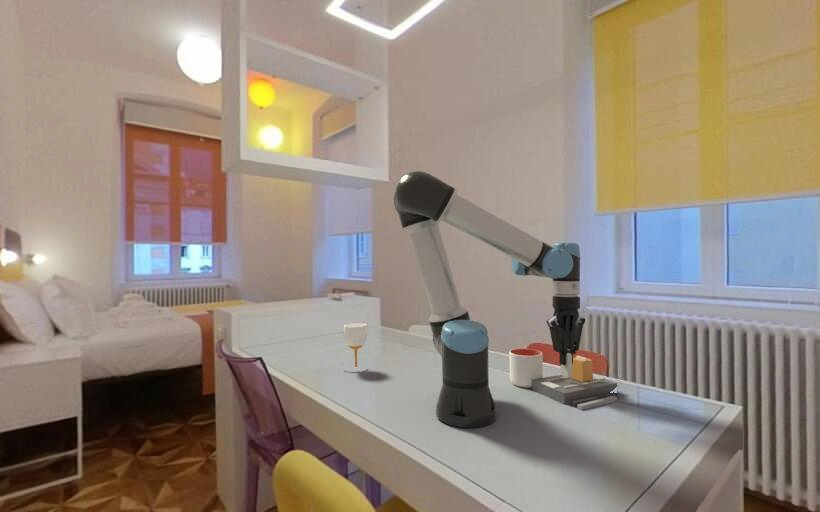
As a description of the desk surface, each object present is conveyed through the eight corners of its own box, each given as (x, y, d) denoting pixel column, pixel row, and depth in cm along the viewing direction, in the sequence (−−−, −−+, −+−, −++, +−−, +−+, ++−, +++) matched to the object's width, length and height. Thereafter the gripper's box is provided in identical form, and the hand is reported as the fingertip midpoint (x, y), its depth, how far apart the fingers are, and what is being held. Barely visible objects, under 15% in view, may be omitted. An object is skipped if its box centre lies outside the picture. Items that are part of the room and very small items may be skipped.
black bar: (574, 407, 105) (574, 402, 105) (570, 405, 107) (570, 401, 107) (618, 398, 112) (618, 393, 112) (613, 396, 113) (613, 392, 113)
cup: (544, 389, 119) (544, 356, 119) (510, 388, 121) (510, 355, 121) (540, 379, 129) (540, 348, 129) (509, 378, 131) (508, 347, 131)
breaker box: (564, 404, 108) (563, 392, 108) (532, 389, 120) (531, 378, 120) (617, 393, 115) (617, 382, 115) (582, 380, 127) (582, 370, 127)
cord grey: (581, 410, 104) (580, 406, 104) (577, 408, 105) (577, 404, 105) (617, 400, 110) (617, 397, 110) (613, 399, 111) (613, 395, 111)
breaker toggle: (582, 382, 116) (582, 359, 116) (571, 378, 120) (570, 356, 120) (592, 380, 117) (592, 358, 117) (581, 376, 121) (580, 354, 121)
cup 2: (371, 370, 142) (370, 326, 142) (346, 374, 138) (345, 328, 138) (364, 364, 150) (364, 322, 150) (341, 367, 147) (340, 324, 147)
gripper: (558, 297, 111) (558, 382, 111) (592, 295, 116) (593, 376, 116) (539, 295, 117) (539, 374, 118) (573, 293, 123) (573, 369, 123)
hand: (566, 375), depth 117 cm, fingers closed
